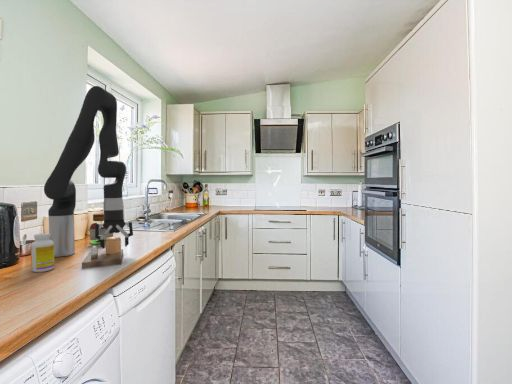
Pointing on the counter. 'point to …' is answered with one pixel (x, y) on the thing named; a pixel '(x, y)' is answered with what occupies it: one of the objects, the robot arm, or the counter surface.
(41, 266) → the supplement bottle
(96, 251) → the post
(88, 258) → the board
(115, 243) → the tan wooden cube
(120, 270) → the counter surface
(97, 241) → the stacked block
